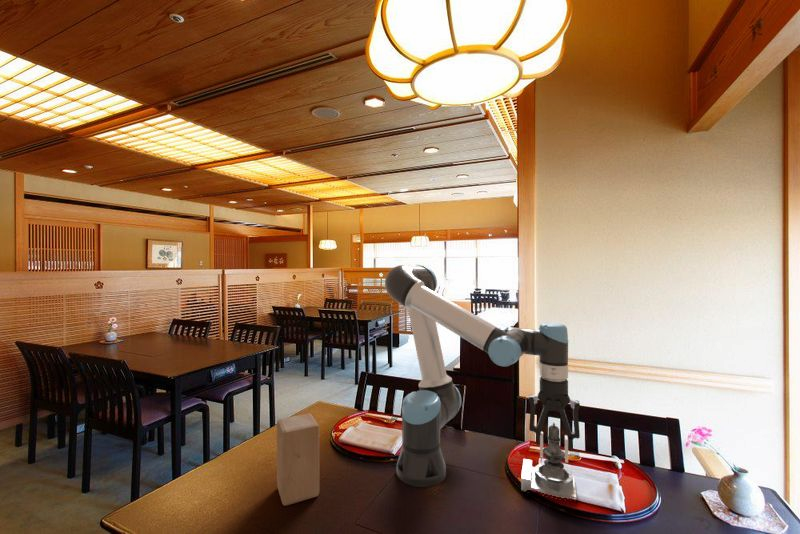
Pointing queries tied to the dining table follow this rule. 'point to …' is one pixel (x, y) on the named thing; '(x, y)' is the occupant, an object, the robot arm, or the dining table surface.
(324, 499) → the dining table surface
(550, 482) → the mount
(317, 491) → the wooden block
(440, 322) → the robot arm
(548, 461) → the grey tall piece
